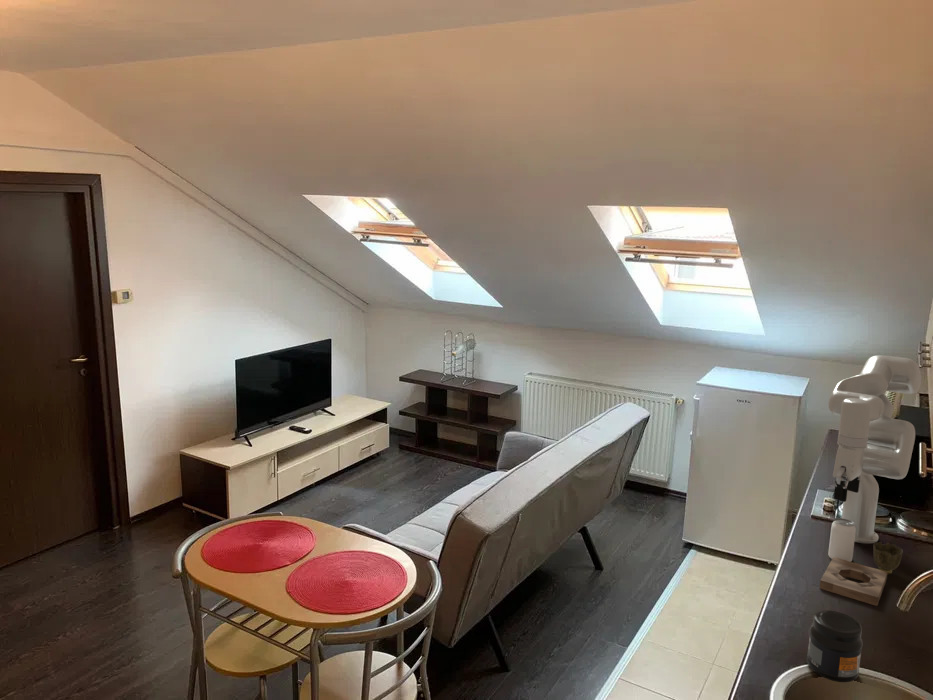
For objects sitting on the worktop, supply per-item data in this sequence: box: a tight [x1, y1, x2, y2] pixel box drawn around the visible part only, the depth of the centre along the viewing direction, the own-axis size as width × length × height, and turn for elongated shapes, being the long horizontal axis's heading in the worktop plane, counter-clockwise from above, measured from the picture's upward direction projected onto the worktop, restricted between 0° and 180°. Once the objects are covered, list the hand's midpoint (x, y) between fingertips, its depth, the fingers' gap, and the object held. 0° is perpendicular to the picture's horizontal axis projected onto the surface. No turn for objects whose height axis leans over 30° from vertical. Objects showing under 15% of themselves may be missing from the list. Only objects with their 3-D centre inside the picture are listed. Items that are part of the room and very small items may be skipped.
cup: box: [872, 541, 904, 576], centre depth 196 cm, size 8×7×8 cm
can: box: [828, 517, 856, 562], centre depth 204 cm, size 6×6×12 cm
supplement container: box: [806, 609, 864, 683], centre depth 151 cm, size 10×10×12 cm
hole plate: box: [819, 557, 888, 607], centre depth 189 cm, size 18×14×2 cm
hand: (846, 495), depth 198 cm, fingers open, 9 cm apart
